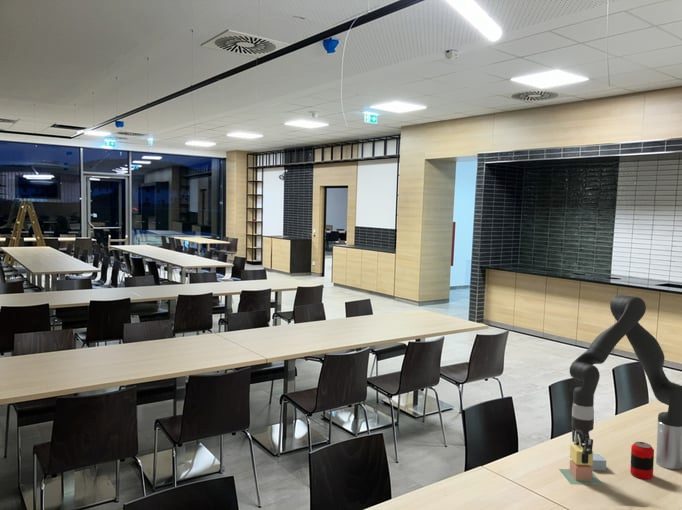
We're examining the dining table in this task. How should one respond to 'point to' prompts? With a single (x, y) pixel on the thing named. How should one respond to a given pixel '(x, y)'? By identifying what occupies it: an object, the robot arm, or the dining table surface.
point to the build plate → (572, 481)
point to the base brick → (581, 471)
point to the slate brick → (598, 462)
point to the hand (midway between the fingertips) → (581, 459)
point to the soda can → (642, 460)
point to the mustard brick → (579, 455)
